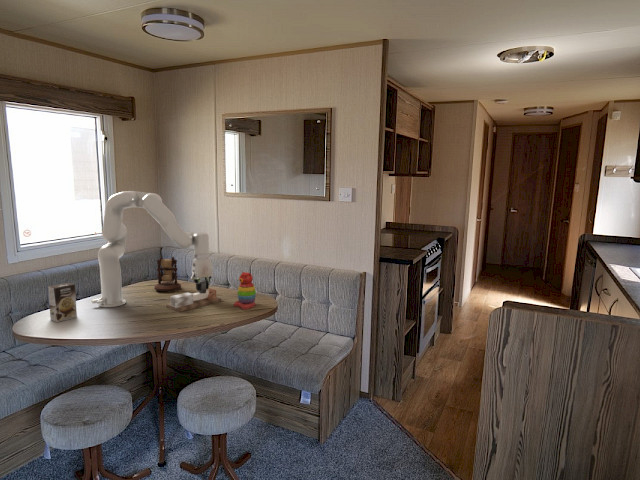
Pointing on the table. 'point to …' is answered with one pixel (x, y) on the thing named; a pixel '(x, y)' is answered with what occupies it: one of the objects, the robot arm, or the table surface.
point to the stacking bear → (246, 292)
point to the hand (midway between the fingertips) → (202, 289)
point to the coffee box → (62, 302)
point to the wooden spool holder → (167, 275)
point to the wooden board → (191, 301)
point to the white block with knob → (201, 292)
